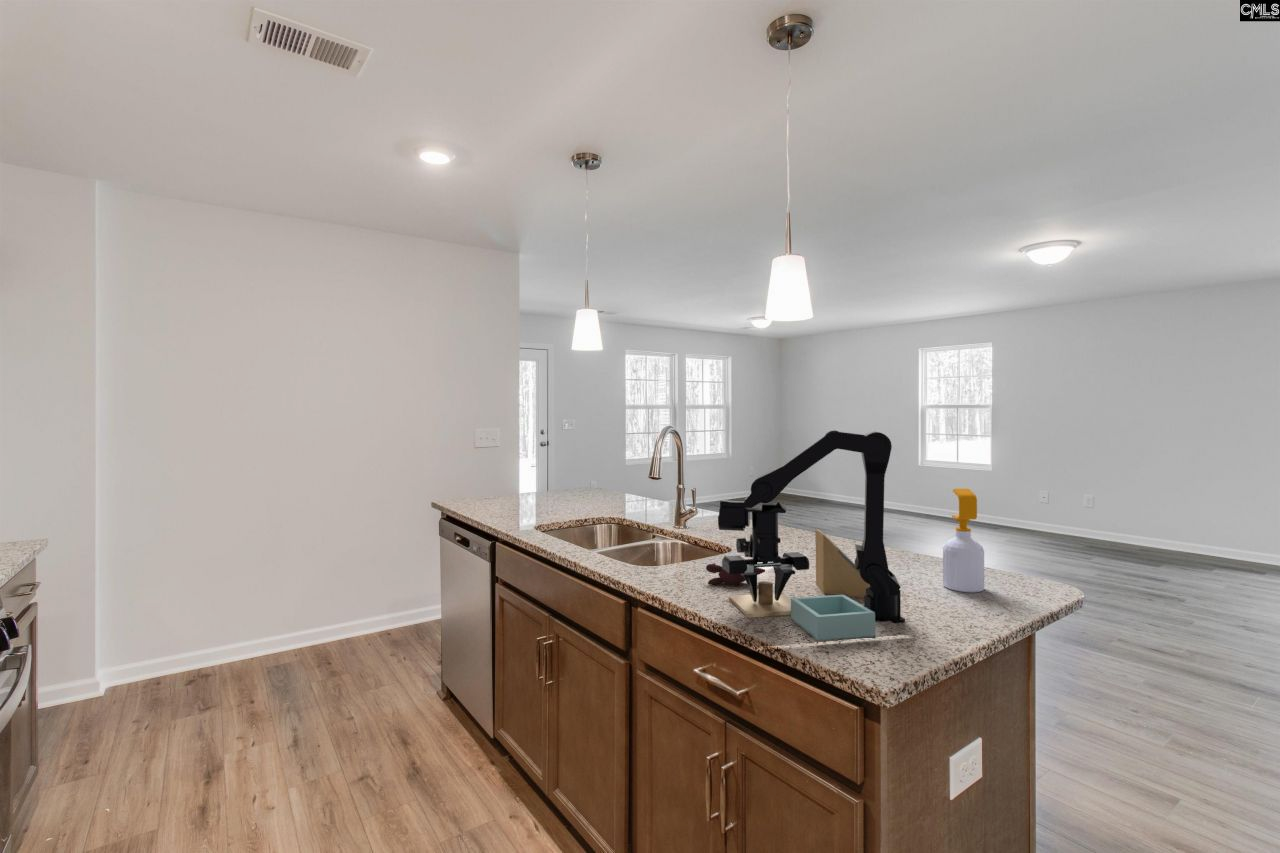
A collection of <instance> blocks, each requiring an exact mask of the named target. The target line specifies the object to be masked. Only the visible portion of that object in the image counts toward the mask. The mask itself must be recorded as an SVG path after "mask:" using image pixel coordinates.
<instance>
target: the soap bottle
mask: <svg viewBox="0 0 1280 853" xmlns="http://www.w3.org/2000/svg"><path fill="white" fill-rule="evenodd" d="M952 492H953V493H954V494H955V495H956V496H957V498H958V514H953V515H951V518H954V519H956V522H957V523H959V524H958V525H959V526H958V527H957V526H956V527H955V536H953V537H952V538H950V539H948V540H947V541H946V542H945V543H944V544H943V546H942V585H943V587H945V588H946V589H949V590H951V591H956V592H961V593H969V594H970V593H972V594H973V593H979V592H983V591H984V590H985V550H984V547H983V545H981V544H980V543H979V541H976V540H974V539H973V538H972V532H971V531H972V530H971V528H970V527H968V523H970V520H977V518H978V499H977V496H976V494H975V493H974V492H973V491H972V490H971V489H969V488H953V489H952Z"/></svg>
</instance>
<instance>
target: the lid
mask: <svg viewBox="0 0 1280 853" xmlns="http://www.w3.org/2000/svg"><path fill="white" fill-rule="evenodd" d="M773 585H774V583H773V582H771V581H768V580H765V581H764V580H763V581H757V601H756V602H754V601H753V599H752V596H751V594H741V595H739V594H737V595H729V596H728V600H729V602H731V603H732V604H733V605H734V606H735V607H736V608H737V609H738V610H739V611H740V612H741V613H743V614H744V615H745V617H747V618H748V619H750V618H762V617H763V618H765V617H780V616H791V598H790V597H789V596H787V595H786V594H785V593H783V592H782V593H781V596H780V598H779V600H778V601H776V600H775V594H774V586H773Z"/></svg>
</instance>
